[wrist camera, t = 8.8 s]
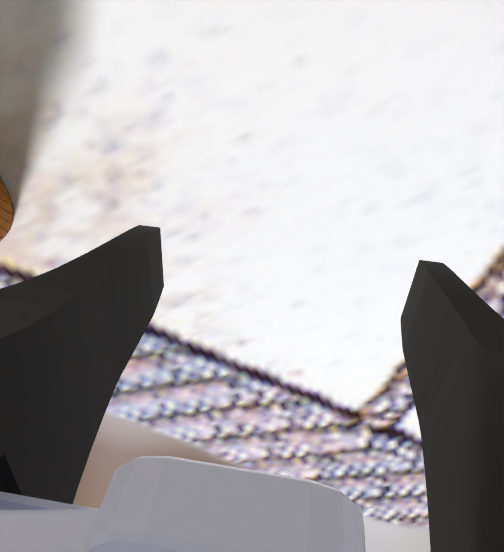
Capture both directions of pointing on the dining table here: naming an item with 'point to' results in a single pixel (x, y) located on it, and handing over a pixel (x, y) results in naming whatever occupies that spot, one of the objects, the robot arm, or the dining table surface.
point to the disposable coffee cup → (5, 211)
